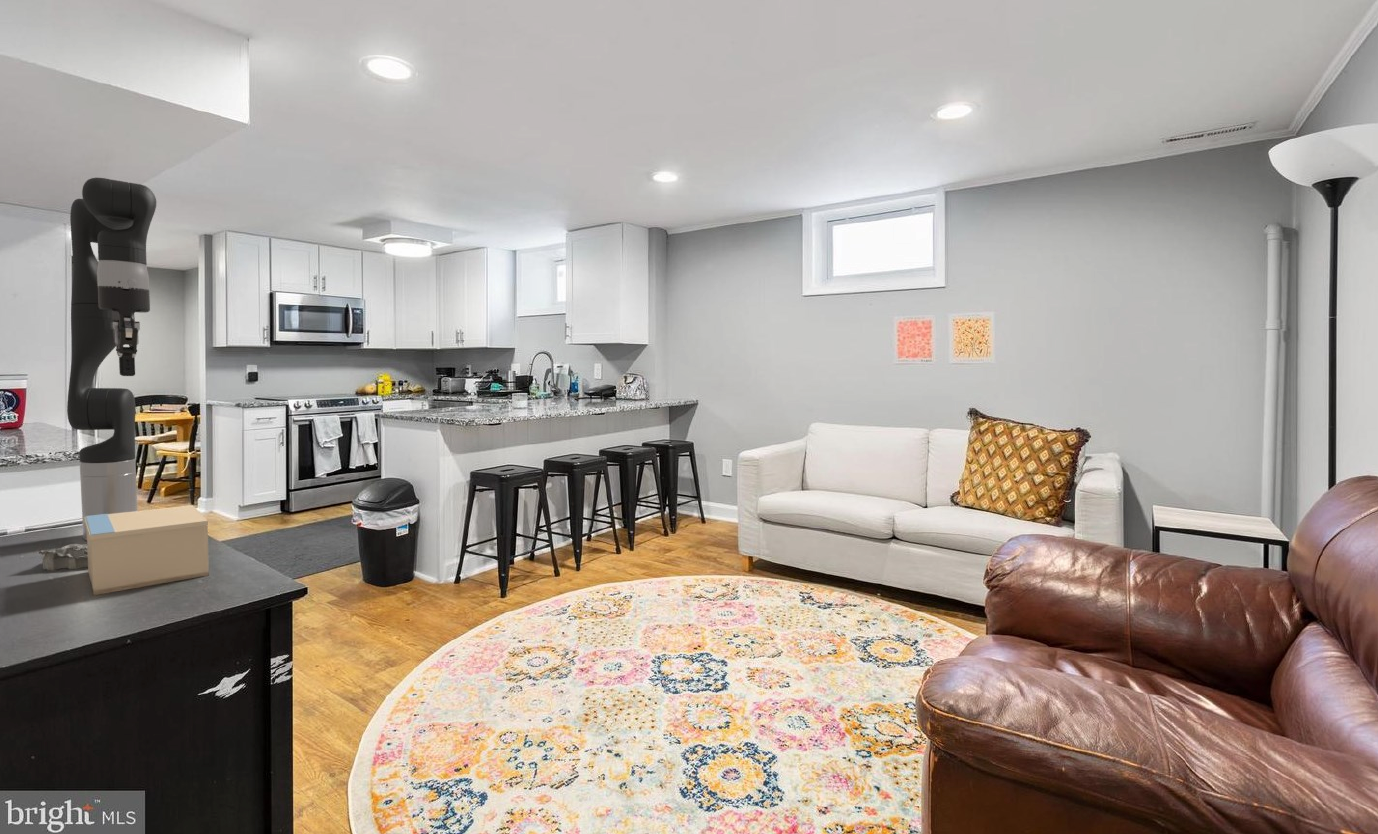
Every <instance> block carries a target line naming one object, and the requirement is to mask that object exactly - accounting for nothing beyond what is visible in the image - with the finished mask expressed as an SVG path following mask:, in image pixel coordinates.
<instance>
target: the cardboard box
mask: <svg viewBox="0 0 1378 834" xmlns="http://www.w3.org/2000/svg"><path fill="white" fill-rule="evenodd" d="M208 530H209V529H208V525H203V526H195V527H187V528H179V529H172V530H164V531H156V532H148V533H140V534H132V535H125V536H117V537H109V538H101V539H93V540H90V539H89V535H88V531H87V528H86V531H87V540H86V545H87V553H88V567H87V569H88V570H87V571H88V576H89V580H90V584H91V589H92V593H93V596H96V595H97V596H98V595H103V594H109V593H113V592H115V593H116V592H119V591H126V590H127V591H128V590H131V589H137V588H144V587H149V586H154V585H161V584H166V583H173V582H178V581H183V580H190V579H195V578H197V579H198V578H201V577H209V576H210V568H209V567H210V566H209V565H210V562H209V561H210V559H209V558H210V557H209V532H208Z"/></svg>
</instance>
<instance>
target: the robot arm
mask: <svg viewBox="0 0 1378 834" xmlns="http://www.w3.org/2000/svg"><path fill="white" fill-rule="evenodd" d="M81 195H82V198H76V199H75V200H74V201H73V202H72V204H71V207H70V214H69V215H70V216H69V217H70V235H71V236H70V237H71V239H70V240H71V253H72V284H71V303H70V327H71V328H70V330H71V332H70V333H71V364H70V373H69V382H68V393H67V404H66V408H67V409H66V414H67V419H68V423H69V425H70V427H71V428H73V429H74V430H77V431H100V430H101V431H106V430H110V431H111V430H113V435H112V436H111V437H109V438H107V439H105V440H104V441H101V442H98V443H95V444H90V445H88V446H84V447H82V448H81V449H80V450H79V454H78V456H79V474H80V493H81V496H80V497H81V512H82V513H81V514H82V515H81V519H82V539H83V540H84V541H87V531H86V524H85V520H84V517H86V516H91V515H100V514H114V513H124V512H133V511H138V490H137V489H138V488H137V469H136V465H137V464H136V430H135V429H136V413H137V412H136V409H137V408H136V399H135V395H134V394H133V392H132V391H131V390H130V389H128V388H119V387H118V388H117V387H116V388H115V387H93V381H94V378H95V375H96V372H97V370H98V369H99V367H100V365H101V364H102V363H103V362H104V360H105V359H106V358H107V357H108V356H109V355H110V354H111V352H113V350H114V349H115V351H116V355H117V357H118V362H119V363H118V364H119V369H118V370H119V375H120V376H122V377H134V376H136V362H135V360H136V359H135V357H136V355H137V353H138V349H137V347H138V345H139V343H140V342H139V331H140V329H141V328H140V327H141V326H140V325H141V324H140V323H141V322H140V321H135V320H136V319H135V317H136V316H135V313H149V312H151V298H150V276H149V272H148V267H147V239H148V233H149V229H150V226H151V223H152V220H153V218H154V215H155V213H156V209H157V198H156V196H155V194H154V192H153V190H151V188H149V187H148V186H146V185H143V184H140V183H134V182H128V181H121V180H116V179H110V178H105V177H91V178H89V179H87V180H86V181H85V182H84V184H83V186H82V190H81ZM91 243H94V244H97V254H98V255H97V258H96V255H95V253H94V251H93V247H92V244H91ZM125 345H128V346H125Z"/></svg>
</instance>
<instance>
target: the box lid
mask: <svg viewBox="0 0 1378 834" xmlns="http://www.w3.org/2000/svg"><path fill="white" fill-rule="evenodd" d="M84 520H85V524H86V528H87V531H88V535H89V539H90V540H93V539H101V538H109V537H117V536H125V535H132V534H140V533H148V532H156V531H164V530H172V529H179V528H187V527H195V526H203V525H208V522H209V521H208V519H207V518H205V516H204V515H203V514H202V513H201V512H200V511H199V510H198V509H197V508H196V507H195V506H194V505H193V504H191V505H189V504H188V505H181V506H172V507H162V508H161V507H160V508H153V509H152V508H151V509H144V510H143V509H142V510H137V511H133V512H124V513H114V514H100V515H91V516H86V517H84Z"/></svg>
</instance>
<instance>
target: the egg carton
mask: <svg viewBox="0 0 1378 834" xmlns="http://www.w3.org/2000/svg"><path fill="white" fill-rule="evenodd" d="M38 554H40V555H41V556H43V555H44V556H43V557H42V569H43V570H47V571H56V570H58V569H66V568H67V569H69V570H72V569H73V570H75V569H79V568H85V567H87V568H88V553H87V544H79V543H70V544H67V545H64V546H62V547H60V548H55V550H50V551H47V550H39V551H38Z"/></svg>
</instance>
